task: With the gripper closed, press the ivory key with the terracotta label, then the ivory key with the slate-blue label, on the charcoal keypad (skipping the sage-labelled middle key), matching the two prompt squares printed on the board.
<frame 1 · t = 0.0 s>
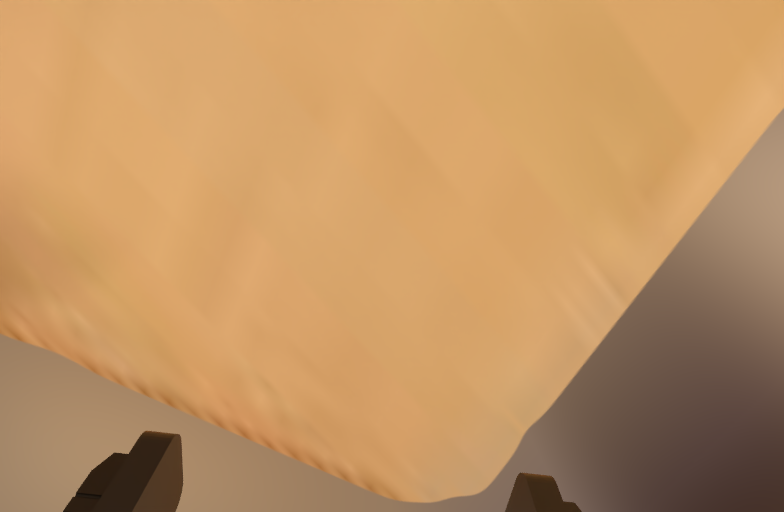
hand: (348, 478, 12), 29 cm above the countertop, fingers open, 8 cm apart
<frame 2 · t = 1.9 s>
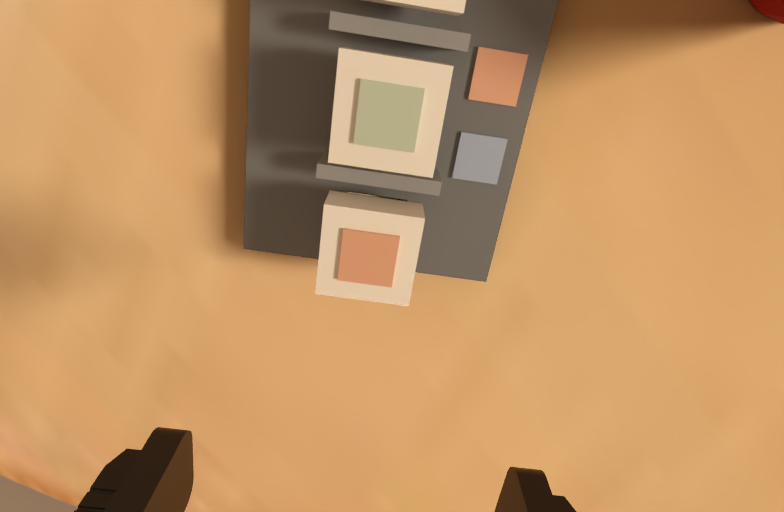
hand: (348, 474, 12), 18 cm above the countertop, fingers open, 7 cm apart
key C: (370, 242, 24), point 4 cm above the countertop, slide at 0.0 cm
key B: (388, 110, 22), point 4 cm above the countertop, slide at 0.0 cm
keypad board: (389, 100, 25), on the countertop
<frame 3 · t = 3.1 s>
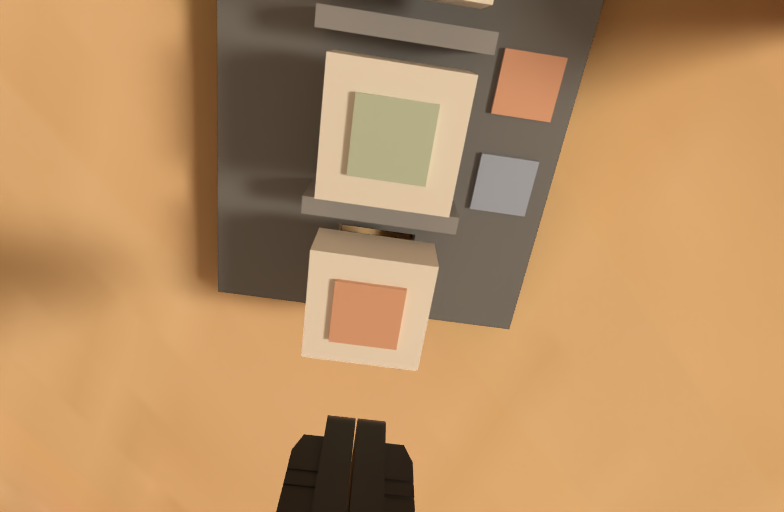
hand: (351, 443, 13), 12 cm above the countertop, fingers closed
key C: (369, 291, 20), point 4 cm above the countertop, slide at 0.0 cm
key B: (392, 130, 17), point 4 cm above the countertop, slide at 0.0 cm
keypad board: (393, 113, 21), on the countertop
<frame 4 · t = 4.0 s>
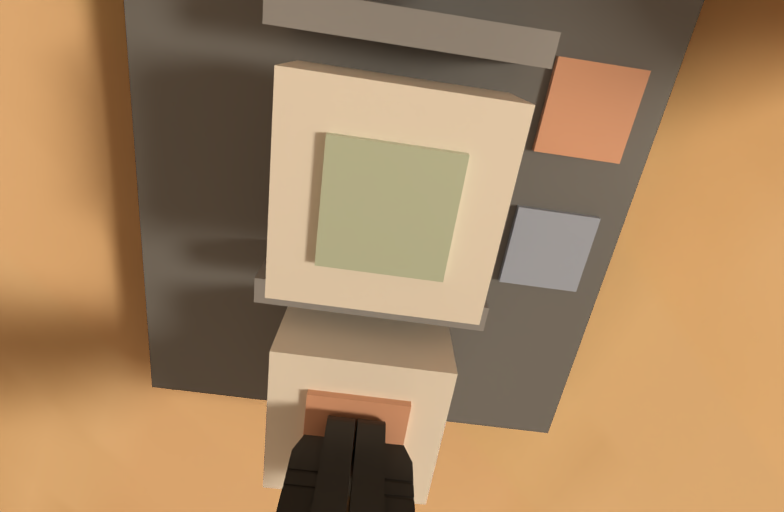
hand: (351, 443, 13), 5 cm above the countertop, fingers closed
key C: (358, 389, 14), point 3 cm above the countertop, slide at 0.8 cm, touching gripper
key B: (389, 184, 11), point 4 cm above the countertop, slide at 0.0 cm
keypad board: (390, 147, 15), on the countertop
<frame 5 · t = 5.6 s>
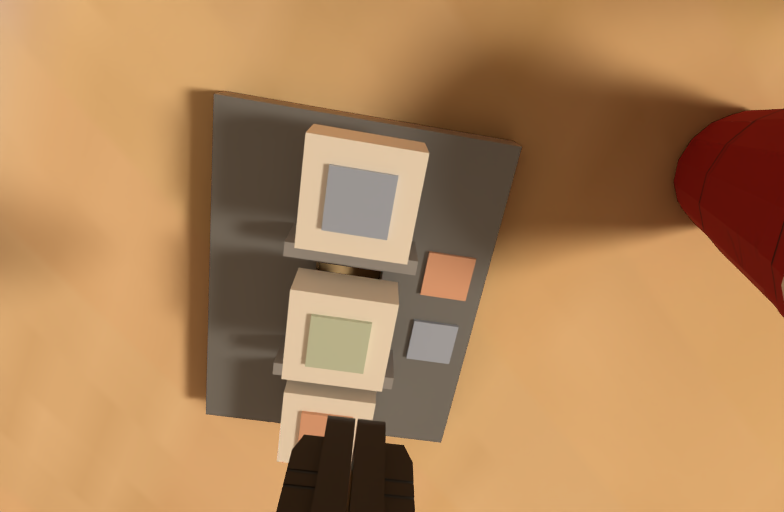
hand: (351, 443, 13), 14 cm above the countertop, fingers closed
plastic cup: (724, 166, 25), on the countertop
key C: (328, 409, 27), point 3 cm above the countertop, slide at 1.4 cm
key B: (341, 321, 23), point 4 cm above the countertop, slide at 0.0 cm
keypad board: (347, 283, 27), on the countertop
key A: (361, 189, 20), point 4 cm above the countertop, slide at 0.0 cm
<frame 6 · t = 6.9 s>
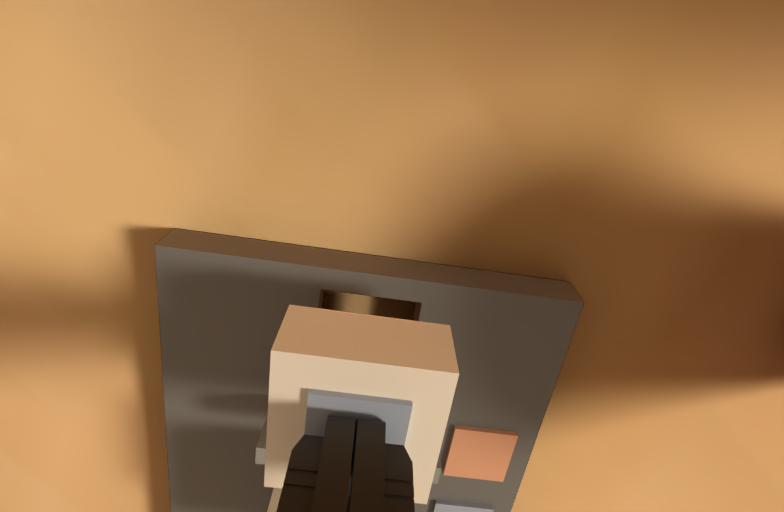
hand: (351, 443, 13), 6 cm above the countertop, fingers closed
keypad board: (348, 446, 21), on the countertop
key A: (359, 388, 14), point 4 cm above the countertop, slide at 0.0 cm, touching gripper
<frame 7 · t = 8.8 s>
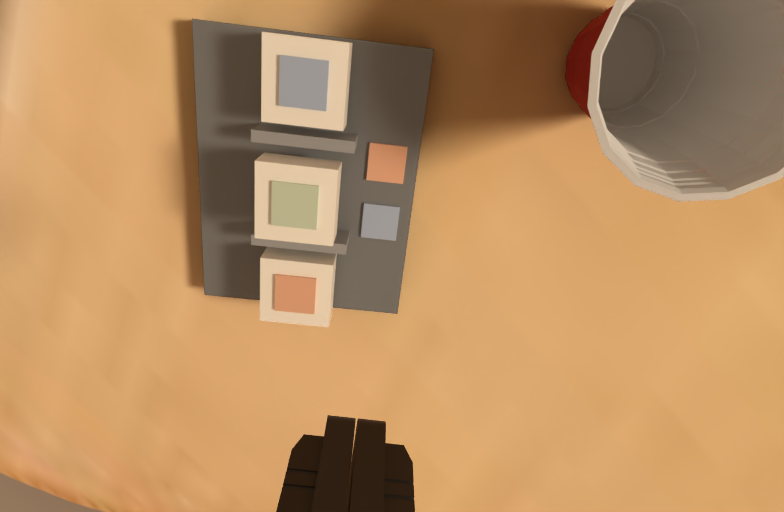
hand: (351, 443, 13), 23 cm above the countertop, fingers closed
plastic cup: (606, 62, 30), on the countertop
key C: (300, 281, 33), point 3 cm above the countertop, slide at 1.4 cm
key B: (300, 196, 29), point 4 cm above the countertop, slide at 0.0 cm
keypad board: (310, 178, 33), on the countertop
key A: (309, 81, 28), point 3 cm above the countertop, slide at 1.4 cm
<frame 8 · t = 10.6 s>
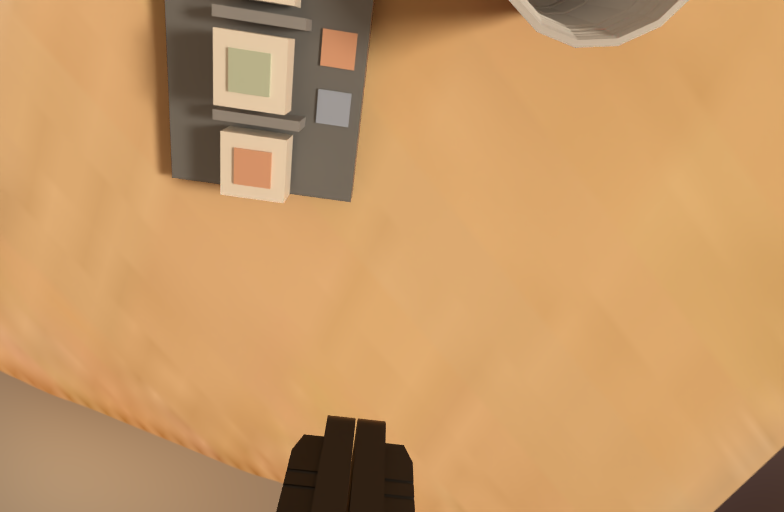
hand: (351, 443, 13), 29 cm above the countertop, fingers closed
key C: (259, 162, 36), point 3 cm above the countertop, slide at 1.4 cm
key B: (257, 71, 32), point 4 cm above the countertop, slide at 0.0 cm
keypad board: (271, 67, 36), on the countertop
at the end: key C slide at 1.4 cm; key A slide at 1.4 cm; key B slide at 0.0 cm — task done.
